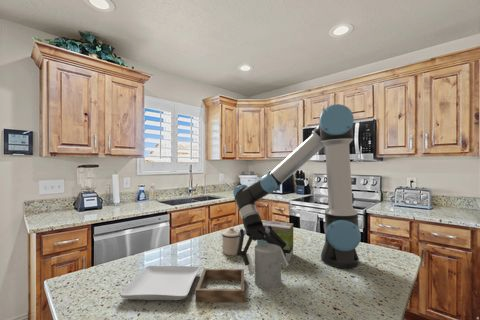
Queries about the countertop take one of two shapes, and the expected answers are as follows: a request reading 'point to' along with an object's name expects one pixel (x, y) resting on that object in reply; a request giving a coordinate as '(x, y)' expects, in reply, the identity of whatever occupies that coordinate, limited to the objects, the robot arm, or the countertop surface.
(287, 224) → the tea box
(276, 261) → the grey speckled cylinder
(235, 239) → the teacup with lid
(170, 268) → the salad plate
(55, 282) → the countertop surface
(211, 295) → the collar
